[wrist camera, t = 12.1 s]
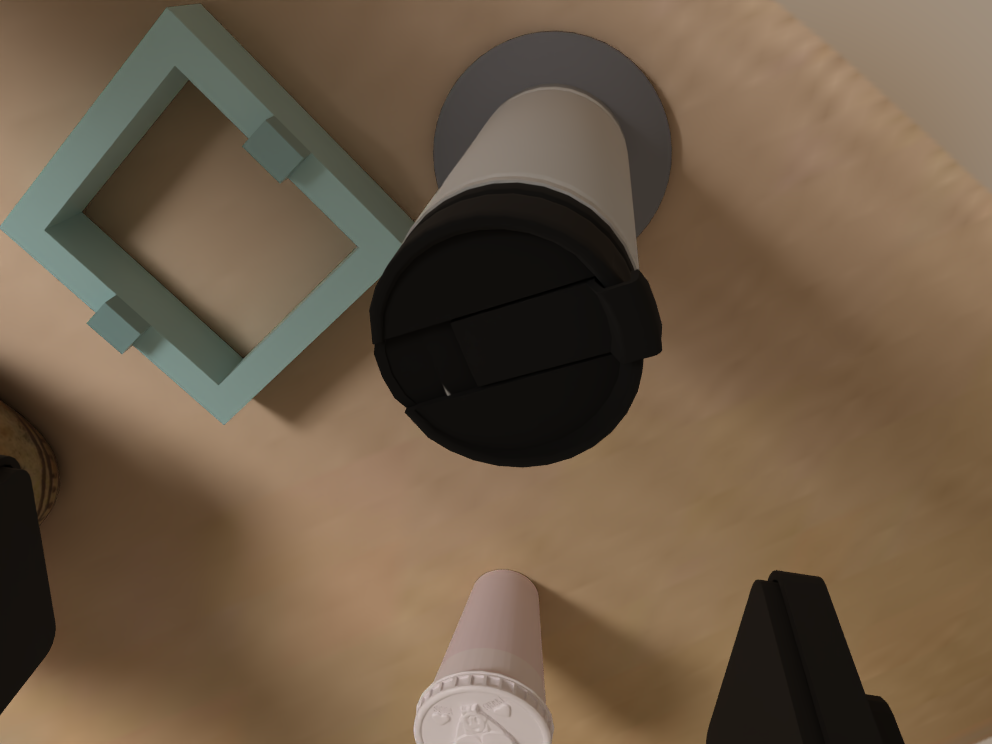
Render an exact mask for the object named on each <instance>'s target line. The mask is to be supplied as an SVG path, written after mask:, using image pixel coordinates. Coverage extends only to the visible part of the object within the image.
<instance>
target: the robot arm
mask: <svg viewBox="0 0 992 744" xmlns="http://www.w3.org/2000/svg"><path fill="white" fill-rule="evenodd" d="M55 631H56V625H55V618H54V612H53V606H52V600H51V594H50V588H49V582H48V576H47V570H46V564H45V558H44V552H43V546H42V540H41V534H40V528H39V522H38V516H37V510H36V504H35V498H34V492H33V486H32V480H31V477H30V474H29V473H28V472H27V471H26V470H23V469H21V467H20V464H19V462H18V461H17V460H16V459H15V458H13V457H11V456H6V455H0V715H1V713H2V712H3V711H4V709H5V708H6V707H7V706H8V704H9V703H10V702H11V700H12V699H13V698H14V696H15V695H16V694H17V693H18V691H19V690H20V689H21V687H22V686H23V685H24V684H25V682H26V681H27V680H28V678H29V677H30V676H31V675H32V673H33V672H34V671H35V669H36V668H37V667H38V666H39V664H40V663H41V662H42V660H43V659H44V658H45V656H46V655H47V653H48V652H49V650H50V648H51V646H52V644H53V640H54V637H55ZM706 744H905V743H904V741H903V738H902V736H901V733H900V731H899V728H898V725H897V723H896V720H895V718H894V715H893V713H892V711H891V709H890V707H889V705H888V704H887V702H886V701H885V700H883V699H882V698H881V697H880V696H874V695H867V694H865V692H864V689H863V686H862V684H861V681H860V678H859V675H858V673H857V670H856V667H855V664H854V662H853V659H852V656H851V653H850V650H849V648H848V645H847V642H846V639H845V637H844V634H843V631H842V628H841V626H840V623H839V620H838V617H837V615H836V612H835V609H834V606H833V603H832V601H831V598H830V595H829V592H828V590H827V587H826V584H825V582H824V581H823V579H822V578H820V577H817V576H811V575H804V574H797V573H791V572H784V571H777V570H776V571H773V572H772V573H771V574H770V576H769V578H768V581H764V580H755V582H754V583H753V586H752V588H751V591H750V595H749V598H748V601H747V604H746V608H745V611H744V614H743V617H742V621H741V624H740V627H739V630H738V634H737V637H736V640H735V643H734V647H733V650H732V653H731V656H730V660H729V663H728V666H727V669H726V673H725V676H724V679H723V682H722V686H721V689H720V692H719V695H718V699H717V702H716V705H715V708H714V712H713V715H712V718H711V721H710V725H709V728H708V732H707V739H706Z"/></svg>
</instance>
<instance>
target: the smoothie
mask: <svg viewBox="0 0 992 744" xmlns="http://www.w3.org/2000/svg"><path fill="white" fill-rule="evenodd" d="M553 732H554V725H553V720H552V714H551V713H550V711H549V709H548V707H547V705H546V698H545V685H544V670H543V655H542V639H541V624H540V609H539V595H538V591H537V589H536V587H535V585H534V584H533V583H532V582H531V581H530V580H529V579H528V578H527V577H525V576H524V575H522V574H520V573H518V572H515V571H511V570H494V571H490V572H488V573H485V574H484V575H482V576H481V577H480V578H479V579H478V580H477V581H476V582H475V584H474V586H473V589H472V591H471V594H470V596H469V598H468V601H467V603H466V606H465V608H464V610H463V613H462V615H461V618H460V620H459V622H458V625H457V627H456V630H455V632H454V634H453V637H452V639H451V642H450V644H449V646H448V649H447V651H446V654H445V656H444V658H443V661H442V663H441V666H440V668H439V670H438V672H437V674H436V677H435V679H434V682H433V683H432V684H431V685H430V686H429V687H428V688H427V689H426V690H425V691H424V692H423V693H422V695H421V697H420V700H419V702H418V704H417V708H416V717H415V721H414V737H415V741H416V743H417V744H551V743H552V737H553Z"/></svg>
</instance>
